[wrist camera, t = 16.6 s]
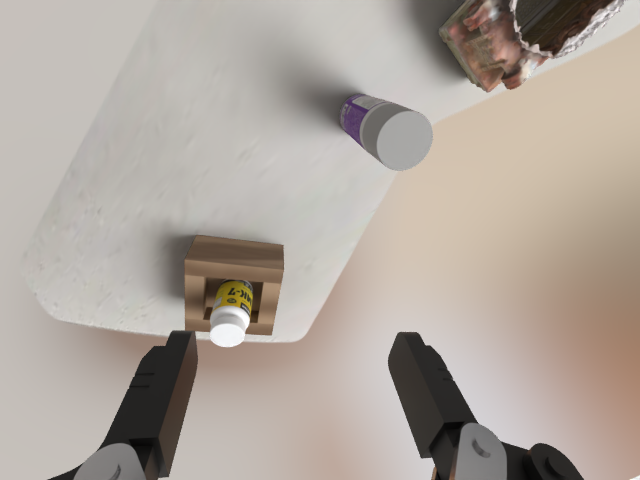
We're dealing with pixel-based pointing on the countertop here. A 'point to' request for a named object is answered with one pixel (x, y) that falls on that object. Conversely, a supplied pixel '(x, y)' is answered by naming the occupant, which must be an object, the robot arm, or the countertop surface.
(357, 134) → the container
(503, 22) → the decorative box
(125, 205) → the countertop surface
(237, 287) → the supplement bottle
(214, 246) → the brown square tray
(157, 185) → the countertop surface
